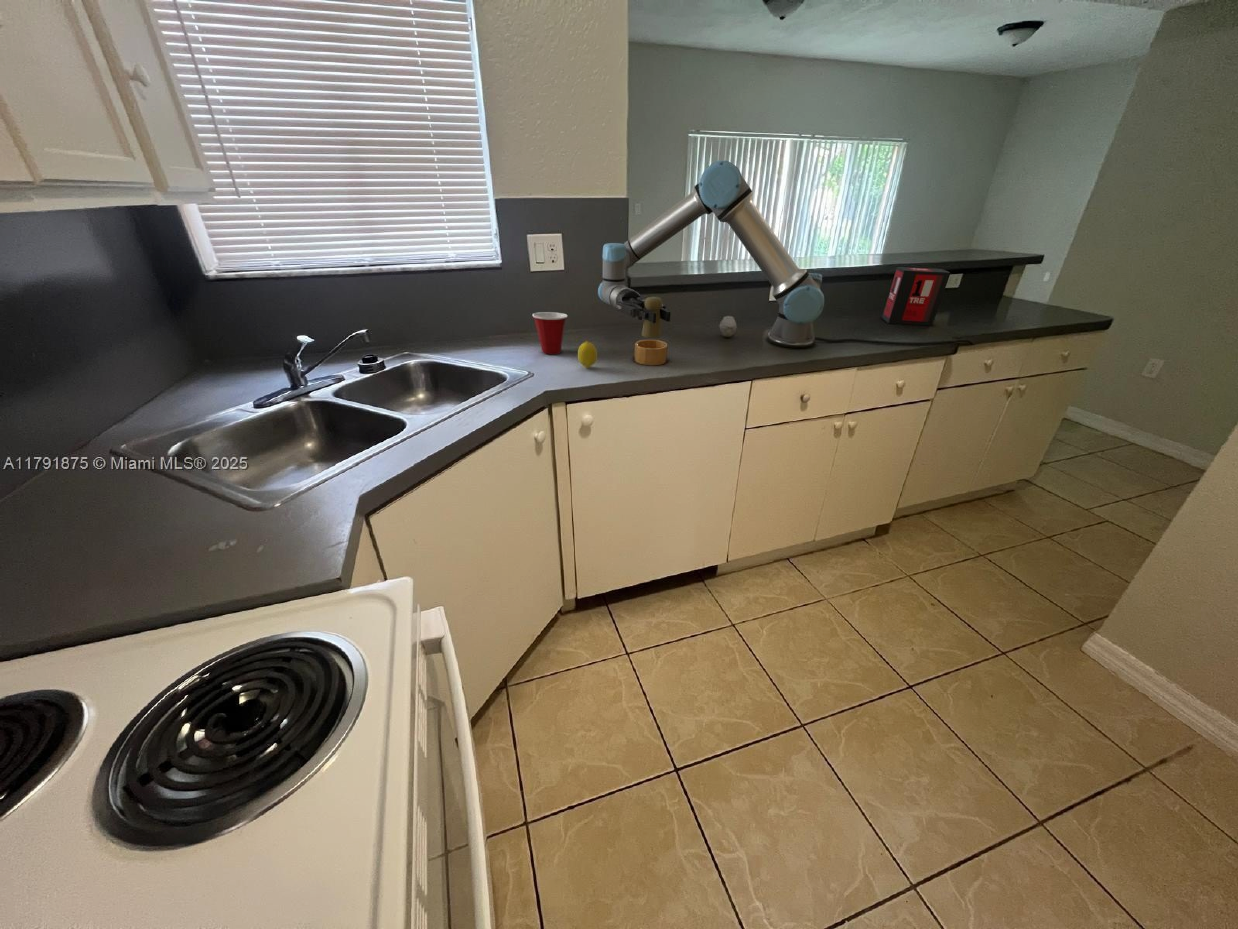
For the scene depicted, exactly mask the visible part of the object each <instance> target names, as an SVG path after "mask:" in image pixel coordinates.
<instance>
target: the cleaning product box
mask: <svg viewBox="0 0 1238 929" xmlns="http://www.w3.org/2000/svg"><path fill="white" fill-rule="evenodd" d="M951 274H952V273H951V271H947V270H945V269H944V268H943V269H942V268H928V267H927V268H925V267H909V266H907V267H905V266H896V268H895V272H894V276H893V279H892V281H891V286H890V289H889V293H888V296H887V299H886V302H885V306H884V310H883V313H882V316H881V318H882V319H883V320H884V321H885V322H887V324H897V325H912V326H930V327H933V325H934V322H935V319H936V316H937V314H938V311H939V308H940V305H941V302H942V300H943V296H944V294H945V291H946V287H947V286H948V285H947V284H948V281H949V279H950V276H951Z"/></svg>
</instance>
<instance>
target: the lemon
mask: <svg viewBox="0 0 1238 929" xmlns="http://www.w3.org/2000/svg"><path fill="white" fill-rule="evenodd" d="M597 358H598V353H597V348H596V346H595V345H594V344H593V343H592V342H590V341H588V340H586V341H584V342H583V343H581V344H580V345H579V347H578V350H577V359H578V362H579V363H580V364H581V365H582V366H583V367H585V368H586V369H589V368H590V367H591V366H593V365H595V363H596V362H597Z"/></svg>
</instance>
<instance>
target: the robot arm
mask: <svg viewBox="0 0 1238 929" xmlns="http://www.w3.org/2000/svg"><path fill="white" fill-rule="evenodd" d="M692 188H693V189H692V192H690V193H689V194H687V195H686V196H685V197H684V198H682V199H681V200H680V201H678V202H677V203H675V204H674V205H673V206H672V207H670V208H669V209H667V210H666V211H665V212H664V213H662V214H660V215H659V216H658V217H657V218H656V219H654V220H653V221H651V222H650V223H649V224H648V225H646V226H645V227H643V228H642V229H640V231H638V232H637V233H635V234H634V235H632V237H630V238H629V239H628V240H626V241H624V243H619V242H609V243H607V242H606V243H605V244H604V245H603V247H602V255H601V256H602V282H601V283H600V284H599V286H598V288H597V295H598V297H599V299H600V300H601V301H602V302H603V303H604V304H605V305H608V306H610V307H612V308H614V309H616V312H621V313H623V314H624V315H627V316H628V317H631V318H636V317H637V320H638V321H642V320H644V319H646V320H648V321H650V322H652V323H656V313H654V312H652V311H650V310H648V309H646V308H645V300H646V299H643V298H642V296H641V295H640V293H639V292H638V291H636V290H635V289H632V288H629V287H628V286H626V270H627V269H629V268H631V267H633V266H634V265H635V264H636V263H638V262H639V261H640V260H642V259H644V258H645V257H646V256H647V255H649V254H650V253H651V252H653V251H654V250H656V249H657V248H658V247H660V246H661V245H662V244H664V243H666V242H667V241H668V240H670V239H671V238H673V237H674V236H676V235H677V234H678V233H679V232H681V231H682V230H684V229H685V228H687V227H688V226H689V225H691V224H692V223H694V222H695V221H697V220H698V219H700V218H701V217H702V216H703V215H712V213H713V214H714V215H715V218H716V219H717V220H718V221H719V222H720V223H726V224H728V226H729V227H730V229H731V230H732V231H733V232H734V234H735V235H736V237H737V238H738V241H739V242H741V244H742V246H743V247H744V248H745V249H746V251H747V252H748V254H749V255H750V256H751V257H752V259H753V261H754V262H755V263H756V265H757V266H758V268H759V269H760V271H761V273H763V275H764V276H765V277H766V279H767V281H769V283H770V285H771V286H772V287H773V289H772V293H771V294H772V297H773V298H774V300H775V301H776V302H777V304H778V305H779V308H778V313H777V318H776V320H775V322H774V324H773V326H772V327H771V329H770V331H769V333H768V337H767V340H768V342H769V343H770V344H773V345H776V346H778V347H782V348H783V347H784V348H792V349H805V348H810V347H811V348H812V347H813V346H814V342H815V341H820V342H821V341H822V342H826V343H841V342H843V343H844V342H853V343H854V342H855V343H866V344H879V345H881V344H882V345H896V346H929V345H941V344H956V343H957V344H958V343H965V342H966V343H969V344H970V345H971V346H976V344H975V342H974V341H973V340H971V339H970V338H969V339H968V338H961V339H947V340H946V339H945V340H935V341H912V342H911V341H887V340H873V339H864V338H863V339H862V338H837V339H836V338H835V339H834V338H833V339H831V338H824V337H819V336H815V331H814V321H815V320H817V318H818V317H819V316H820V315H821V314H822V312H823V310H824V307H825V295H824V293H823V291H822V289H821V287H822V284H823V275H822V274H821V273H815V272H814V273H813V272H809V271H808V270H807V269H806V268H799V267H798V265H797V264H796V263H795V261H794V259H793V258H792V257H791V255H790V254H789V252H788V251H787V249H786V248H785V247H784V245H783V244H782V243H781V241H780V239H779V238H778V236H777V235H776V234H775V232H774V231H773V229H772V227H771V226H770V224H769V223H768V222H767V221H766V219H765V218H764V216H763V215H762V213H761V212H760V211H759V208H757V206H756V205H755V202H754V201H753V196H754V191H753V189H752V188H751V186H750V185H749V184H748V182H747V181H746V180H745V179H744V177H743V175H742V172H741V171H740V169H739V168H738V166H736V165H735V164H734V163H733V162H731V161H729V160H722V159H721V160H717V161H714V162H712V163H710V164H709V165H708V166H707V167H706V168H705V170H703V172H702V174H701V177H700V179H699V182H698V183H697V184H695V185H694V186H693V187H692ZM660 317H661V320H663V321H665V322H668V323H669V322H671V311H669V310H667V305H665V304H663V303H662V307H661V309H660Z"/></svg>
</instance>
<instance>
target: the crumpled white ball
mask: <svg viewBox="0 0 1238 929" xmlns="http://www.w3.org/2000/svg"><path fill="white" fill-rule="evenodd" d="M718 326H719V330H720V333H721V335H722V336H723V337H726V338H731V337H732V336H734V334H735V332H736V330H737V328H738V327H737V322H736V320H735V317H734V316H731V315H727V316H723V318H722V320H721V321H720V324H719V325H718Z"/></svg>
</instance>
